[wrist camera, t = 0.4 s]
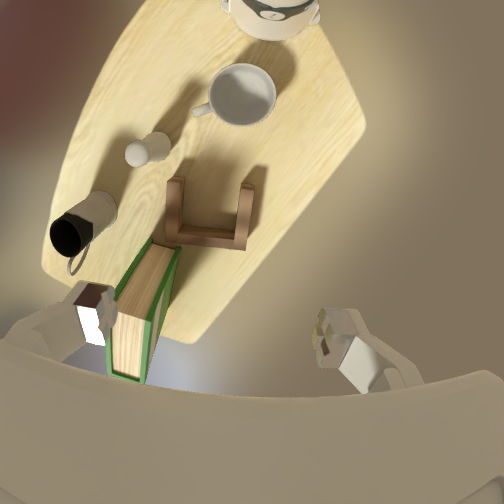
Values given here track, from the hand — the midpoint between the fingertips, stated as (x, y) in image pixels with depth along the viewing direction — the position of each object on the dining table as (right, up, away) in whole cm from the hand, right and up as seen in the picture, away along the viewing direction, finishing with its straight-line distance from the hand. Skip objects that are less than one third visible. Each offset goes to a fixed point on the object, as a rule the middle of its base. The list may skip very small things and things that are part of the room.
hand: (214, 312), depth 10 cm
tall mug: (-32, +9, +45) cm, 56 cm away
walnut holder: (-7, +11, +44) cm, 46 cm away
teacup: (-2, +30, +35) cm, 46 cm away
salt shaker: (-16, +23, +38) cm, 47 cm away
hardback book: (-20, -3, +51) cm, 55 cm away
